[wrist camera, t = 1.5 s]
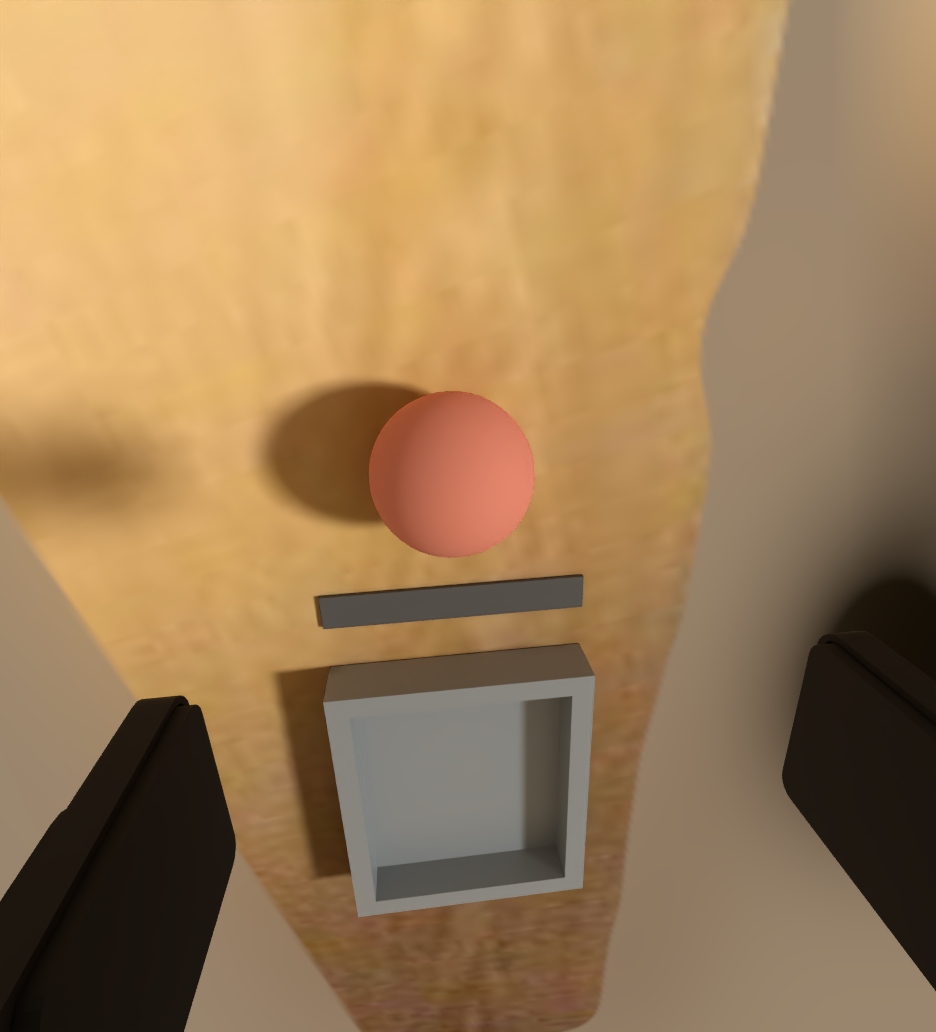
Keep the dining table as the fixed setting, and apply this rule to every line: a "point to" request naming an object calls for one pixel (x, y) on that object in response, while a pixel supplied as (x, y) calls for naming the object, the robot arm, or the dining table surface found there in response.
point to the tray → (462, 775)
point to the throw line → (450, 601)
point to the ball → (451, 474)
